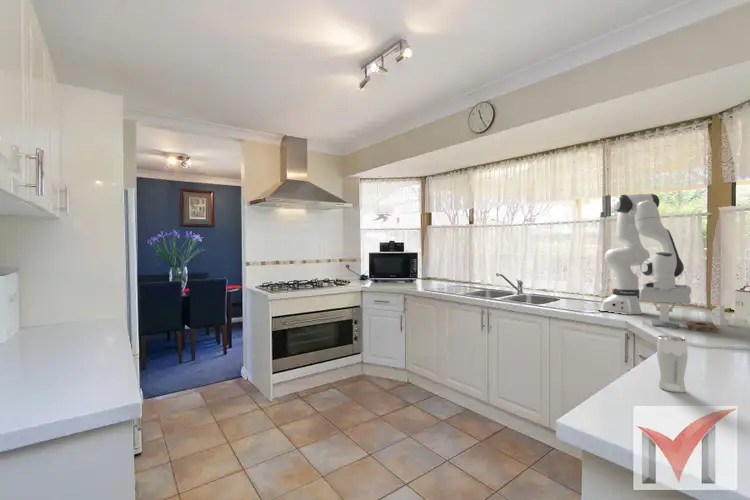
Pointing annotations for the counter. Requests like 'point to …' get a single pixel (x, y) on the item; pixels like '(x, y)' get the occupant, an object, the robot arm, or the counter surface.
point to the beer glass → (672, 362)
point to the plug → (664, 311)
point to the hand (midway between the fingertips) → (664, 311)
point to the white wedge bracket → (719, 316)
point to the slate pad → (664, 324)
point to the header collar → (701, 326)
